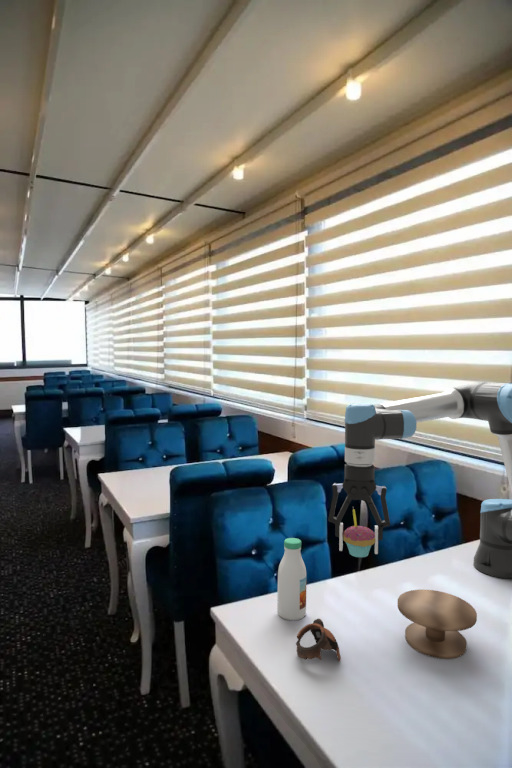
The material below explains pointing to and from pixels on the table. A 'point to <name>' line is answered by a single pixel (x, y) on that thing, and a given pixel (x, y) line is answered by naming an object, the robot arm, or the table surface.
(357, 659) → the table surface
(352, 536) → the cupcake
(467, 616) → the cake stand
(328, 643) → the broken pottery fragment
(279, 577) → the milk bottle
